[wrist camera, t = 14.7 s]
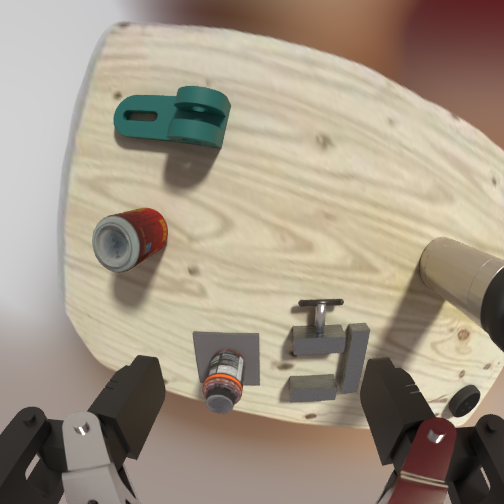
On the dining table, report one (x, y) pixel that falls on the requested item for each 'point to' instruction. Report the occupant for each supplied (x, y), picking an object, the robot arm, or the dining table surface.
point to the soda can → (129, 238)
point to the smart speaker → (464, 401)
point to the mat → (239, 342)
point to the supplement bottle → (224, 381)
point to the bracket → (177, 116)
